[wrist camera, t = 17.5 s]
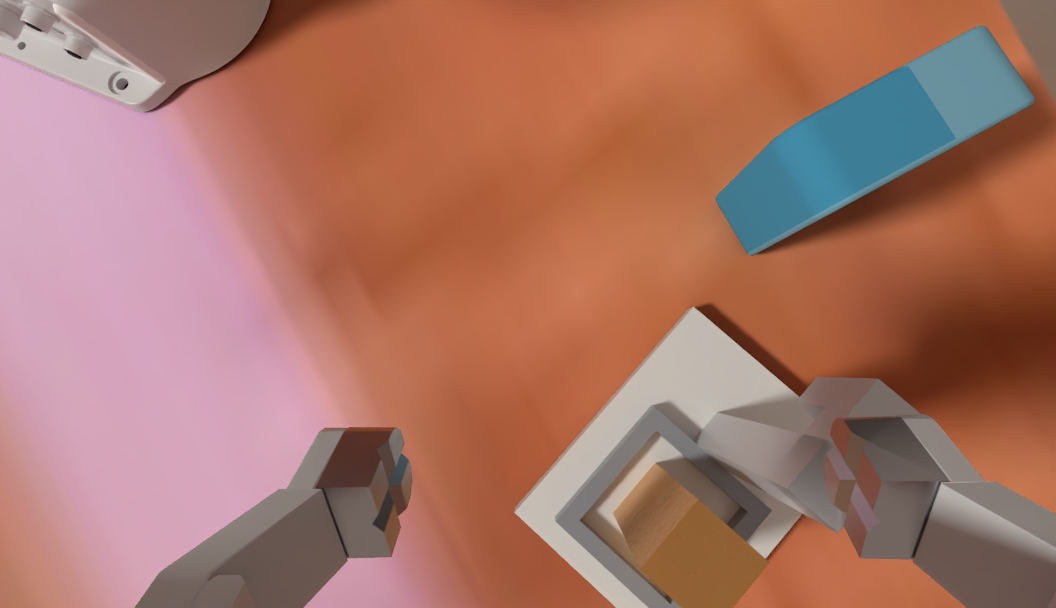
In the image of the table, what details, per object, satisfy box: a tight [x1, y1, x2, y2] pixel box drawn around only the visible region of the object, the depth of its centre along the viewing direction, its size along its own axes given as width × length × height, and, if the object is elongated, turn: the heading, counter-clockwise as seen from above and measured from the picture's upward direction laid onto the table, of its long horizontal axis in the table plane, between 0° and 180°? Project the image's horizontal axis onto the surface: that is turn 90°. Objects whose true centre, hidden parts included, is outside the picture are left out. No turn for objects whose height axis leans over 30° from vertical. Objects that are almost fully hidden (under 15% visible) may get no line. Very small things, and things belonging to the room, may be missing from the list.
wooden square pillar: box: [613, 463, 770, 608], centre depth 30 cm, size 4×4×10 cm
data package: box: [716, 26, 1035, 256], centre depth 33 cm, size 12×4×12 cm, turn 118°
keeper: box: [514, 307, 921, 608], centre depth 29 cm, size 17×13×16 cm
